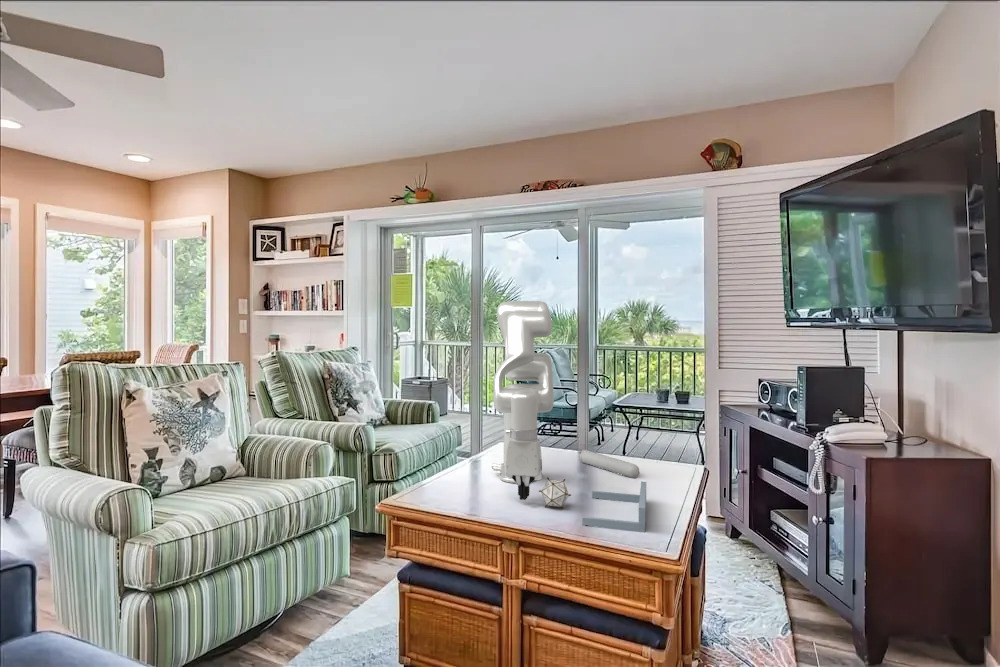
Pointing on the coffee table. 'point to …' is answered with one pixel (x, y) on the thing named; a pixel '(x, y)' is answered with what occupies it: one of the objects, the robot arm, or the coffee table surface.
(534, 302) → the robot arm
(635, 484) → the coffee table surface
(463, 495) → the coffee table surface
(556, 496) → the game die
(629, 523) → the tray
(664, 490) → the coffee table surface
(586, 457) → the tube
